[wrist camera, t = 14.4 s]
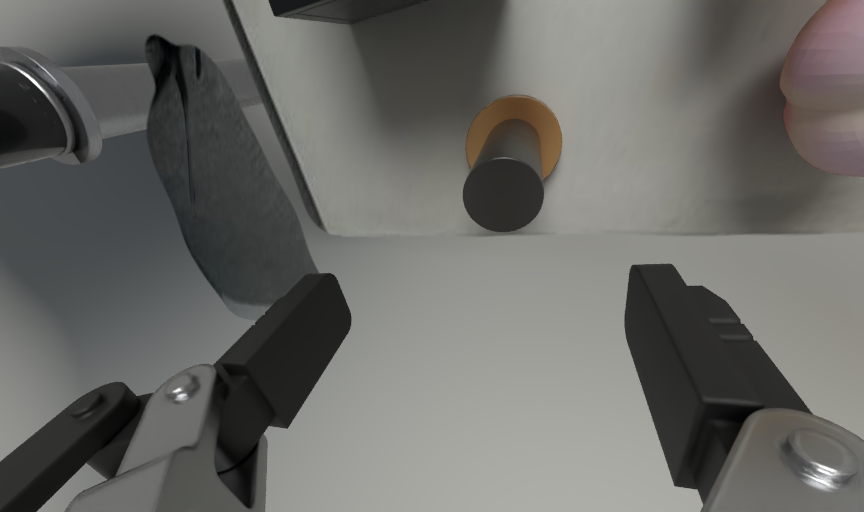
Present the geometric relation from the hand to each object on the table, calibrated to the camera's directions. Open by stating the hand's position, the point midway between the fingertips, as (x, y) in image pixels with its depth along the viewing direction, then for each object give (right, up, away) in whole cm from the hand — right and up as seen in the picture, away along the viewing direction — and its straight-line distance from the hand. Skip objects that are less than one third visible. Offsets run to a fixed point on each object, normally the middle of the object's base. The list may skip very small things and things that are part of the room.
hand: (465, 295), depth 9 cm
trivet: (+5, +10, +16) cm, 20 cm away
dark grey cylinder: (+5, +9, +16) cm, 19 cm away
